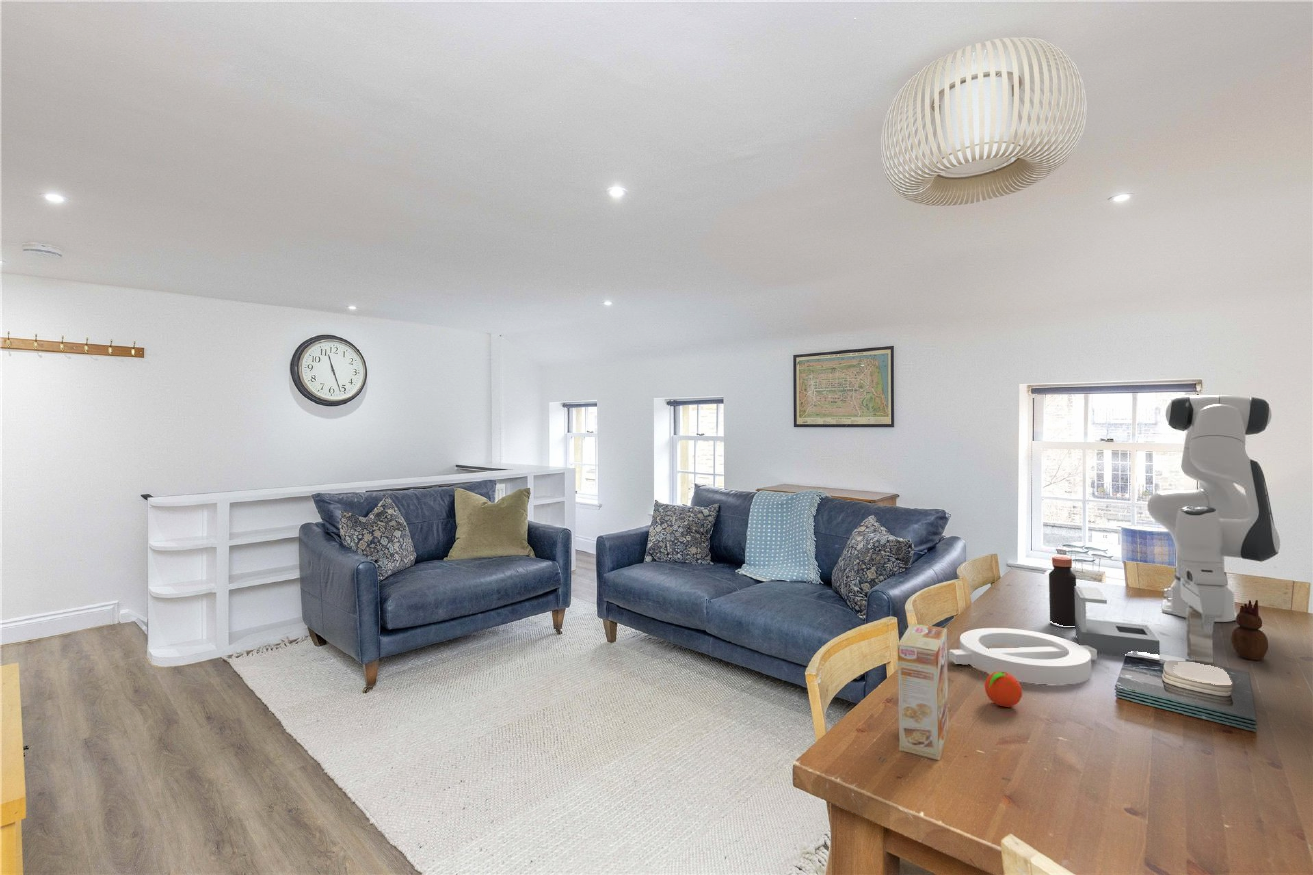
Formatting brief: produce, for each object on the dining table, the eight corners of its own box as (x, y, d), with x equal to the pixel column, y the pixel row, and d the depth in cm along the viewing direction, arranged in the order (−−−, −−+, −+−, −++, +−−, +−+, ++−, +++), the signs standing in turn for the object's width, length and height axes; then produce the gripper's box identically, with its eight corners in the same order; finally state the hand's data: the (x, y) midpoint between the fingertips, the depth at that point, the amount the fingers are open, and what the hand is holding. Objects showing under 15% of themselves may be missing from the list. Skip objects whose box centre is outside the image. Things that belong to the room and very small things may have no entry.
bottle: (1052, 627, 179) (1051, 559, 179) (1047, 620, 185) (1046, 555, 185) (1079, 629, 176) (1078, 560, 177) (1073, 622, 183) (1072, 556, 183)
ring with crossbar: (945, 666, 151) (944, 647, 151) (977, 638, 171) (977, 621, 171) (1081, 697, 132) (1080, 675, 132) (1099, 661, 152) (1098, 642, 152)
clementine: (1006, 716, 123) (1005, 681, 123) (974, 703, 129) (973, 670, 129) (1029, 708, 127) (1029, 674, 127) (997, 695, 133) (997, 663, 133)
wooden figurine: (1274, 663, 148) (1272, 602, 148) (1246, 662, 149) (1245, 601, 149) (1253, 653, 155) (1251, 595, 155) (1226, 652, 156) (1225, 594, 156)
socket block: (1075, 635, 171) (1074, 585, 171) (1147, 643, 163) (1146, 591, 163) (1082, 650, 159) (1080, 597, 159) (1159, 660, 151) (1158, 604, 151)
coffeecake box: (940, 761, 107) (938, 650, 107) (897, 750, 110) (895, 643, 110) (950, 726, 119) (948, 627, 119) (911, 718, 123) (909, 622, 123)
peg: (1187, 654, 155) (1186, 607, 155) (1207, 657, 153) (1206, 609, 153) (1191, 659, 151) (1190, 611, 151) (1212, 662, 149) (1211, 613, 149)
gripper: (1172, 563, 162) (1173, 614, 162) (1195, 577, 144) (1197, 636, 144) (1202, 564, 159) (1204, 617, 159) (1230, 580, 141) (1232, 639, 141)
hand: (1201, 626), depth 152 cm, fingers open, 8 cm apart
